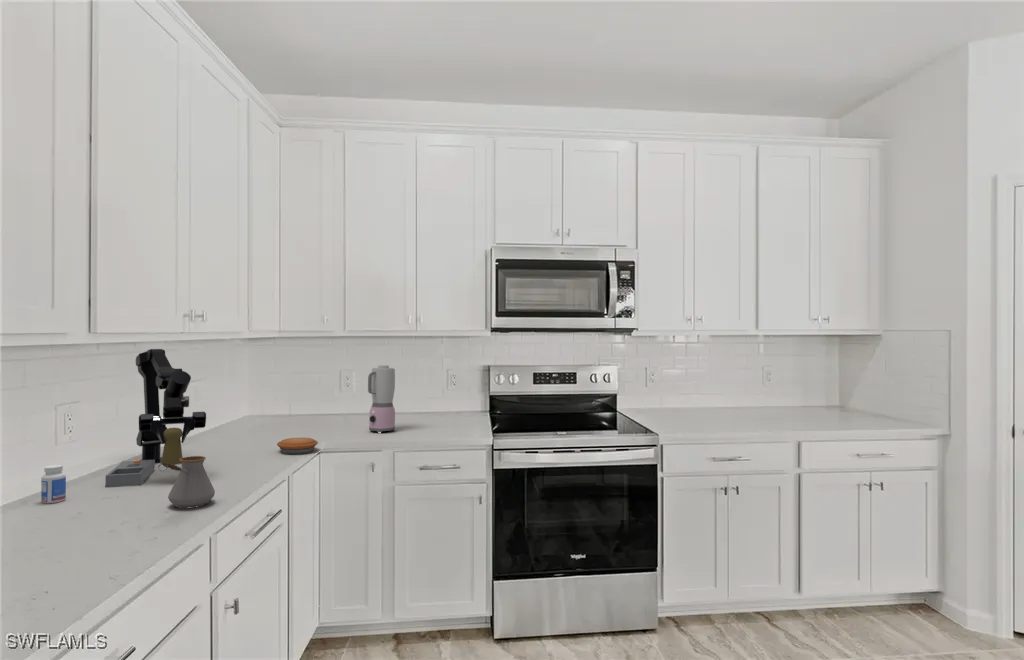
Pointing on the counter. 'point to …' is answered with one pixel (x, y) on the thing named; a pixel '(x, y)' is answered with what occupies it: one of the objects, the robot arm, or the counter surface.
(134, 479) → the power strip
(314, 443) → the pie
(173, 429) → the cork
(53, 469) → the pill bottle
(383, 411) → the blender
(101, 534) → the counter surface
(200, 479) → the coffee pot
